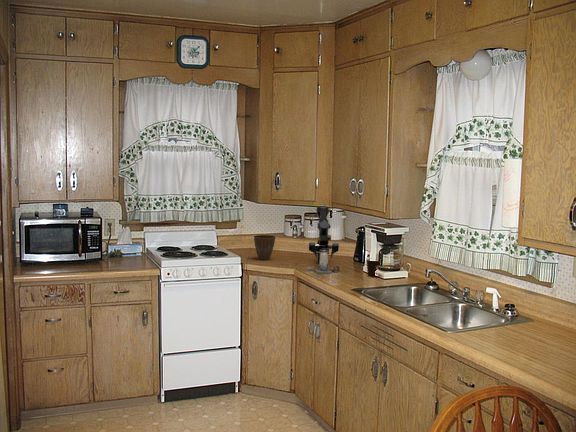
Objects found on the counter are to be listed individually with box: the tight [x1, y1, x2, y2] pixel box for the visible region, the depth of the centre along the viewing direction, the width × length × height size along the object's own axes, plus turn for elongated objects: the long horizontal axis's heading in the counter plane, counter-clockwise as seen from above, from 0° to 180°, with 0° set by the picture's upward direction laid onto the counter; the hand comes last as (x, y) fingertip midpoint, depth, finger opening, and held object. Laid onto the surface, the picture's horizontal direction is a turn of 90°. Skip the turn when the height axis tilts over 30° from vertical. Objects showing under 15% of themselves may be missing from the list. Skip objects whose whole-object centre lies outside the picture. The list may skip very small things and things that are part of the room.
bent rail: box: [332, 264, 341, 274], centre depth 376 cm, size 12×4×3 cm, turn 7°
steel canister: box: [318, 249, 329, 271], centre depth 371 cm, size 5×5×13 cm
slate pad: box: [314, 268, 333, 275], centre depth 372 cm, size 9×9×1 cm
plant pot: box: [253, 234, 276, 261], centre depth 412 cm, size 15×15×16 cm
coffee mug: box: [366, 258, 381, 278], centre depth 363 cm, size 12×9×10 cm
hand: (323, 257), depth 371 cm, fingers open, 9 cm apart
